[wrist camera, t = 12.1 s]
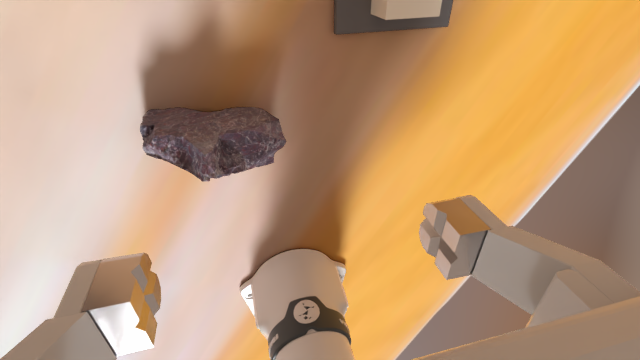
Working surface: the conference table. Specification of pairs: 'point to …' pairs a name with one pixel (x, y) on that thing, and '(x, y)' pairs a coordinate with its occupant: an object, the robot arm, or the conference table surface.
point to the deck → (405, 8)
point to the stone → (212, 139)
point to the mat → (357, 18)
